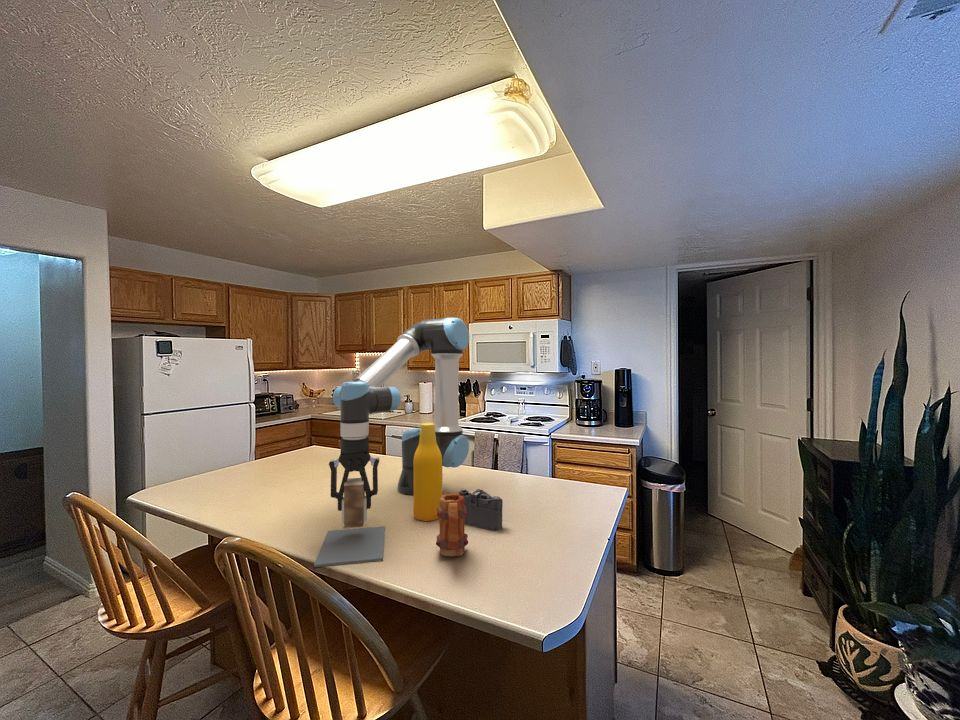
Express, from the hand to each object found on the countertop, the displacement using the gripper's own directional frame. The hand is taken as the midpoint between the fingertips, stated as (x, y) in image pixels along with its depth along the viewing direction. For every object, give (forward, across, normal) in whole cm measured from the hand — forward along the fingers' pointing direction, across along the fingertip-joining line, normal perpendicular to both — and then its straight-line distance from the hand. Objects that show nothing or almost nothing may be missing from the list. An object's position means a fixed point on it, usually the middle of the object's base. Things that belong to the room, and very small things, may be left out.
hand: (354, 521), depth 113 cm
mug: (+5, -25, +17) cm, 31 cm away
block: (+1, 0, 0) cm, 1 cm away
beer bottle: (+5, -21, -12) cm, 25 cm away
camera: (+5, -38, -4) cm, 38 cm away
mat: (+5, 0, +5) cm, 7 cm away
